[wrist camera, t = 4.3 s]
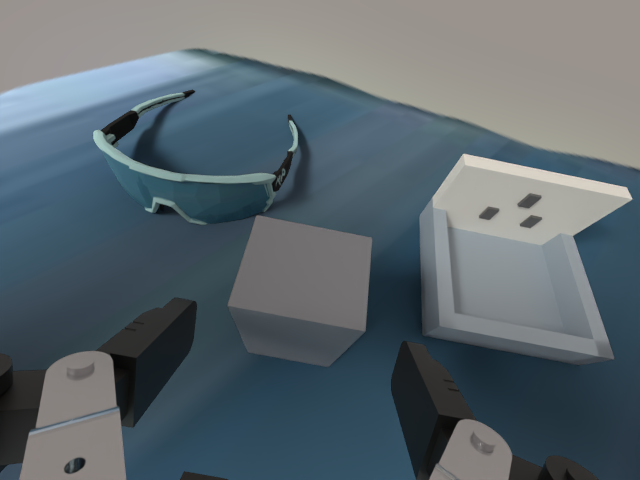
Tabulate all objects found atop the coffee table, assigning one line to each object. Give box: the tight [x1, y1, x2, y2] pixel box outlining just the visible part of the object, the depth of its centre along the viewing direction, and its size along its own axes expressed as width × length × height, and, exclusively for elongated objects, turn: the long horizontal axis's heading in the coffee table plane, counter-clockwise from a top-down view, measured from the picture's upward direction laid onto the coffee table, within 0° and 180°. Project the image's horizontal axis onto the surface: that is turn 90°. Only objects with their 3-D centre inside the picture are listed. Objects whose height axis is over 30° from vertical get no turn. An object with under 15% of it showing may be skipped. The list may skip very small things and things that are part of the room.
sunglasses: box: [93, 90, 298, 225], centre depth 25 cm, size 14×15×5 cm
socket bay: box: [419, 154, 632, 365], centre depth 20 cm, size 11×10×7 cm
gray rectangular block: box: [227, 215, 372, 367], centre depth 16 cm, size 5×4×9 cm
